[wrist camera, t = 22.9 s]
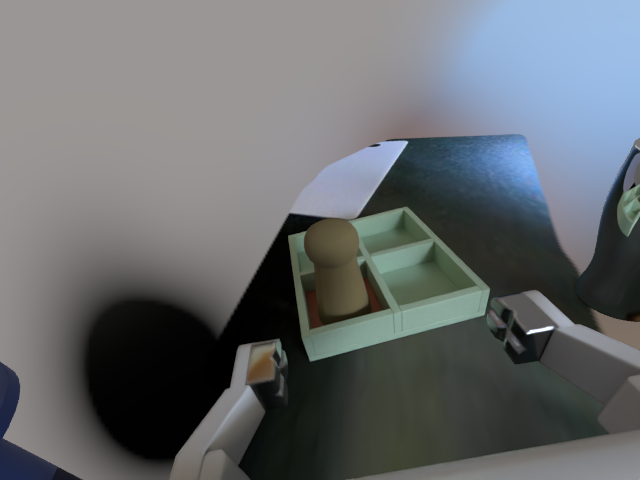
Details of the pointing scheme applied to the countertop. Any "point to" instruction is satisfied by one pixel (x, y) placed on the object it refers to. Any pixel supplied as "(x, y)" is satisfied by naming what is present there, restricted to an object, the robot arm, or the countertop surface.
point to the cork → (336, 270)
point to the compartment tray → (390, 286)
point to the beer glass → (617, 249)
